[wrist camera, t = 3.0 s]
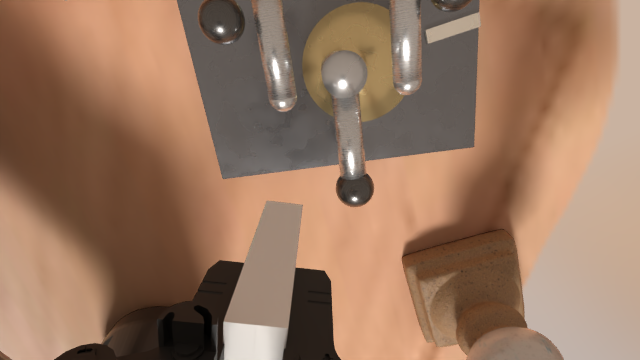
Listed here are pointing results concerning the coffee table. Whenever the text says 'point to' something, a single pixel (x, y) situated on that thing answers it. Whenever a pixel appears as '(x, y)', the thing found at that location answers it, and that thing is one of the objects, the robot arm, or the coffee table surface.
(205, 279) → the robot arm
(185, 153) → the coffee table surface
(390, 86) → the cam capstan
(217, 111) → the stand
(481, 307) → the candle holder
